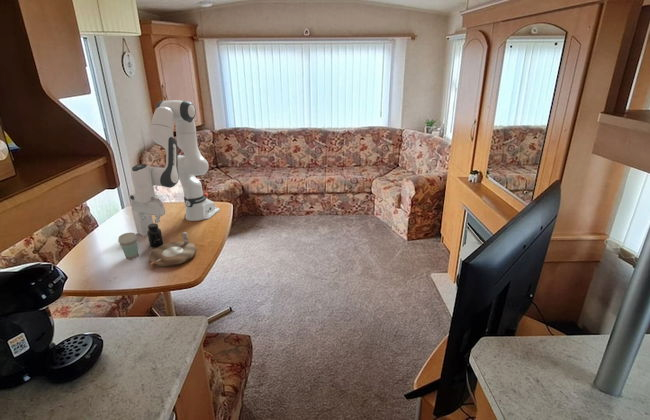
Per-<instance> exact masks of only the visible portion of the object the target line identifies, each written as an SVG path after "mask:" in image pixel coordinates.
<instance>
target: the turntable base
mask: <svg viewBox="0 0 650 420" xmlns="http://www.w3.org/2000/svg"><path fill="white" fill-rule="evenodd" d="M185 262H187V261H185ZM185 262H183V263H180V264H177V265H172V266H171V267H174V266H178V265H181V264H184V263H185ZM149 266H150V269H151V271H155V270H156V269H158V268H157V265H156V263H155V262H152V263H151V262H150V264H149Z"/></svg>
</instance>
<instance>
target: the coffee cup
mask: <svg viewBox="0 0 650 420" xmlns="http://www.w3.org/2000/svg"><path fill="white" fill-rule="evenodd" d="M117 241H118V243H119V244H120V247H121V249H122V252H123V254H124V257H125V259H126V260H135V259H137V258H138V257H139V256H140V255H139V246H138V236H137V235H136V233H134V232H125V233H122V234H121V235H119V236H118V239H117Z"/></svg>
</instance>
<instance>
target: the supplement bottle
mask: <svg viewBox="0 0 650 420" xmlns="http://www.w3.org/2000/svg"><path fill="white" fill-rule="evenodd" d="M158 224H159V223H155V222H153V224H150V225H148V231H147V235H146V236H147V237H148V238H147V239H148V242H149V243H148V244H149V247H150V248H154V249H155V248H157V247H159V246H161V245H164V238H163V234H162V229H161V228H160V227H159V225H158Z"/></svg>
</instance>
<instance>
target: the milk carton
mask: <svg viewBox="0 0 650 420" xmlns="http://www.w3.org/2000/svg"><path fill="white" fill-rule="evenodd" d="M131 212H132V216H133V220H134V226H135V229H136V232H137V234H139V235H141V236H143V237H145V236H148V235H147V231H148V225H150V224H153V223H154V220H153V215H150V214H145V213H144V215H145V216H146V218H147V219H146V220H142V217H141V216H140V214H139V212H135V211H133V209H132V208H131Z"/></svg>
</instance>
